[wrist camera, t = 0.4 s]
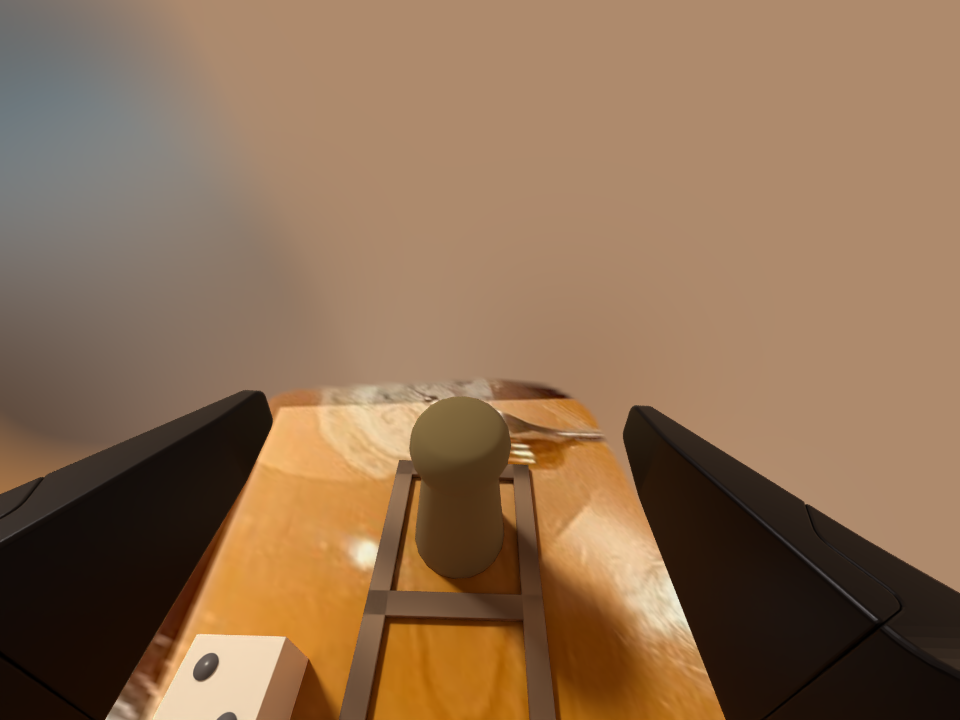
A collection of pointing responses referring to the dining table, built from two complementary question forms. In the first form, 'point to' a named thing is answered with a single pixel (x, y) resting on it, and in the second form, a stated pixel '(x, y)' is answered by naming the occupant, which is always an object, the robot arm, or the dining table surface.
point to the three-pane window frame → (453, 601)
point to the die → (235, 679)
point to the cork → (459, 485)
